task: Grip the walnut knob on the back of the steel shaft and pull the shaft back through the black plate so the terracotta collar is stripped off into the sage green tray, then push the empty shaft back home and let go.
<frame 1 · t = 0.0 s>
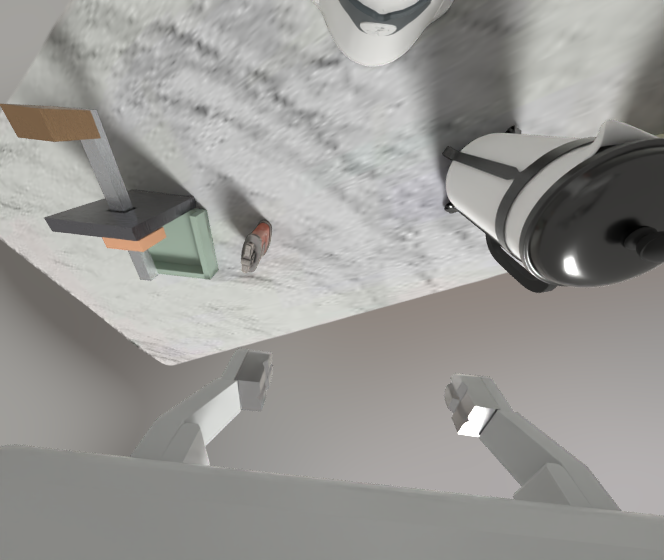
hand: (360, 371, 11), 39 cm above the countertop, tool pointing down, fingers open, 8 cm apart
bearing plate: (164, 198, 46), on the countertop
lighter: (263, 237, 50), on the countertop
coffee press: (478, 179, 41), on the countertop
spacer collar: (148, 230, 43), point 6 cm above the countertop, touching shaft
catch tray: (176, 238, 51), on the countertop
shaft: (106, 215, 35), point 13 cm above the countertop, slide at 0.0 cm, touching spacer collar
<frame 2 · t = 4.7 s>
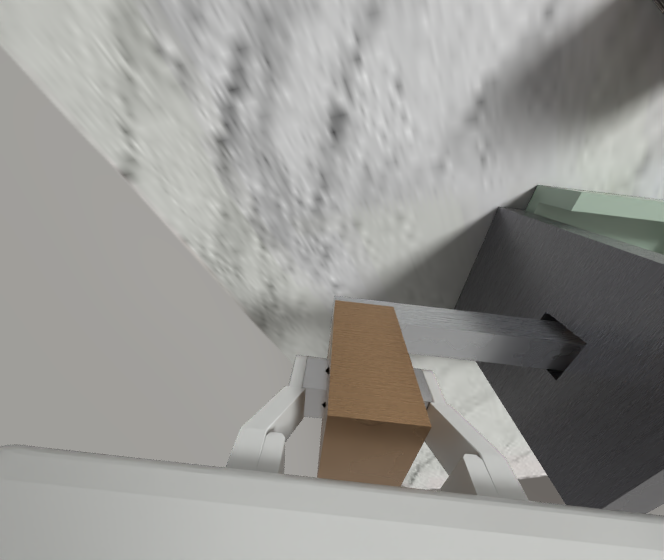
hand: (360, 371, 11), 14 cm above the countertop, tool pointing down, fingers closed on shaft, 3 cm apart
bearing plate: (481, 271, 23), on the countertop
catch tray: (567, 281, 23), on the countertop
shaft: (598, 389, 11), point 13 cm above the countertop, slide at 0.0 cm, touching gripper, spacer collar
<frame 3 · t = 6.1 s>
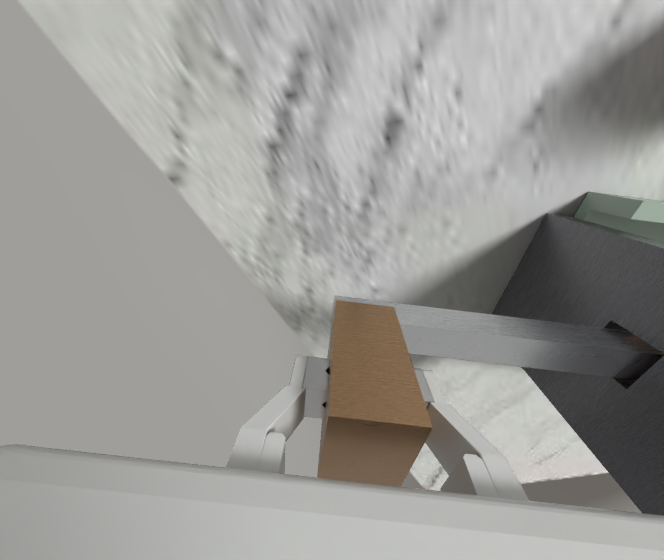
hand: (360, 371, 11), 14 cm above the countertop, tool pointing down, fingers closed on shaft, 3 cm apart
bearing plate: (523, 277, 23), on the countertop
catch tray: (608, 287, 23), on the countertop
shaft: (598, 389, 11), point 13 cm above the countertop, slide at 4.1 cm, touching gripper
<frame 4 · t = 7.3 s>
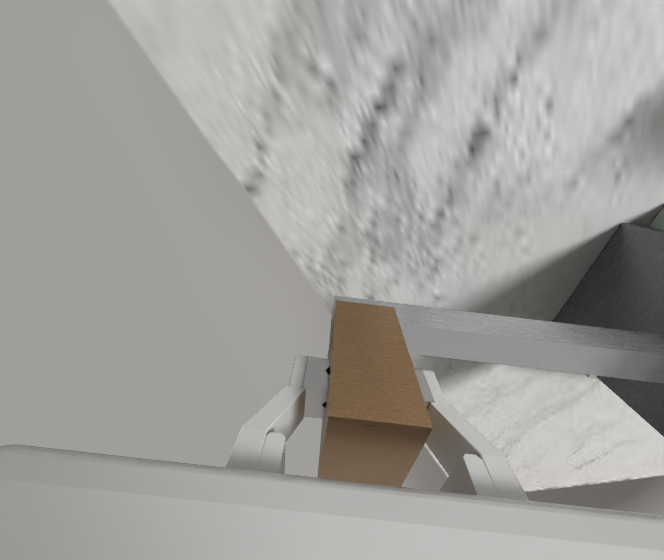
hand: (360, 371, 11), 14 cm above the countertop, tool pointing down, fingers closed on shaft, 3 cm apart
bearing plate: (589, 285, 23), on the countertop
shaft: (598, 390, 11), point 13 cm above the countertop, slide at 10.6 cm, touching gripper, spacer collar
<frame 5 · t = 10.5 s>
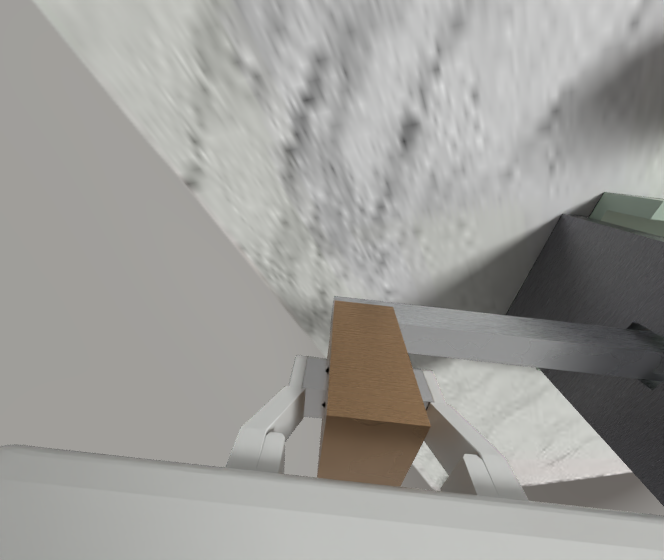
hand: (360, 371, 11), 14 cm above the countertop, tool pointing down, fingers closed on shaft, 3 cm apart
bearing plate: (537, 277, 23), on the countertop
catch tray: (623, 287, 23), on the countertop
shaft: (599, 388, 11), point 13 cm above the countertop, slide at 5.5 cm, touching gripper
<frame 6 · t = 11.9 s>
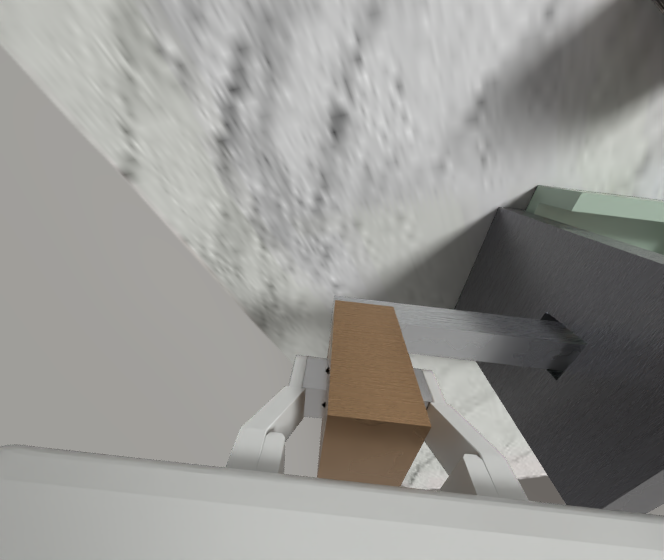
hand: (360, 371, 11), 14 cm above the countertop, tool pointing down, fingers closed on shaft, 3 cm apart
bearing plate: (481, 271, 23), on the countertop
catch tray: (567, 282, 23), on the countertop
shaft: (598, 389, 11), point 13 cm above the countertop, slide at 0.0 cm, touching gripper
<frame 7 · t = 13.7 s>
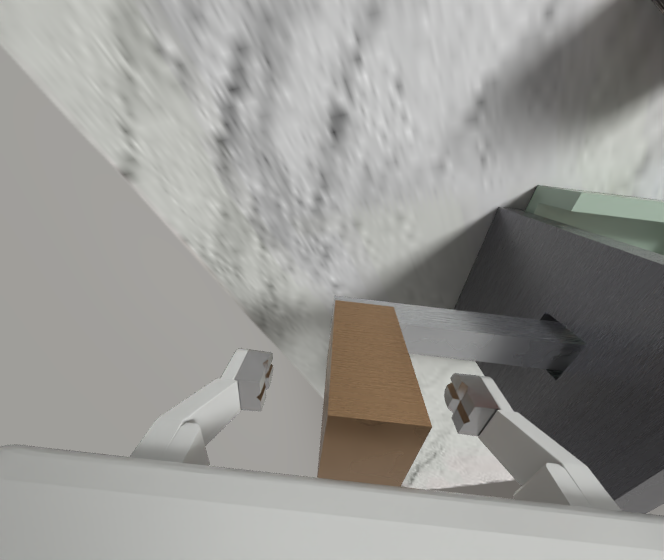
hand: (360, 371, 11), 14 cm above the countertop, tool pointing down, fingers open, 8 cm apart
bearing plate: (481, 271, 23), on the countertop
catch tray: (567, 282, 23), on the countertop
shaft: (598, 389, 11), point 13 cm above the countertop, slide at 0.0 cm
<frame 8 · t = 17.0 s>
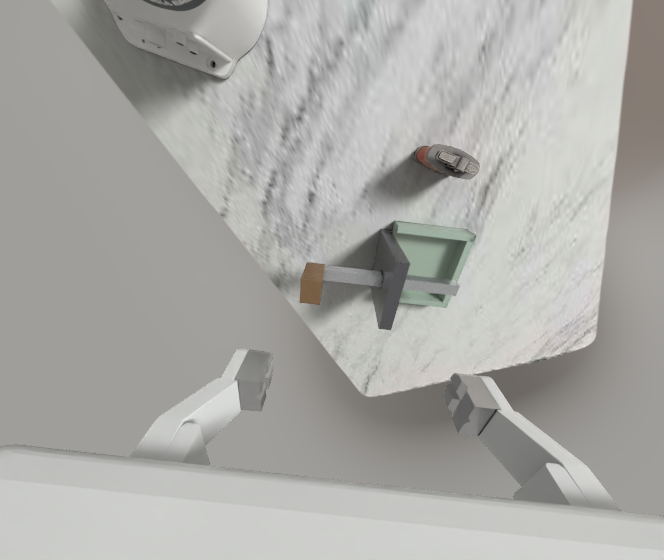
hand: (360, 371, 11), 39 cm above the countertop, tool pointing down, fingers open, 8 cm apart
bearing plate: (379, 257, 50), on the countertop
lighter: (435, 160, 41), on the countertop
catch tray: (418, 262, 50), on the countertop
shaft: (383, 287, 38), point 13 cm above the countertop, slide at 0.0 cm
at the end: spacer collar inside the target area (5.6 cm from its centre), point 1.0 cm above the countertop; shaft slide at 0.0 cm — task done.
